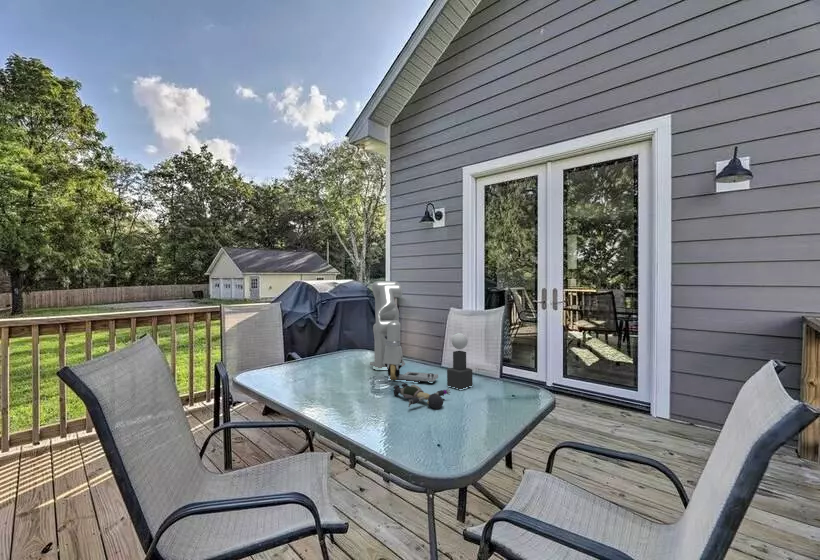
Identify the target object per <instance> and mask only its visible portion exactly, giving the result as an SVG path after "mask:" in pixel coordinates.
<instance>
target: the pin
mask: <svg viewBox="0 0 820 560" xmlns="http://www.w3.org/2000/svg"><path fill="white" fill-rule="evenodd" d="M396 369H397V368H396V365H393V364H390V376H389V377H390V379H391V380H396V379H397V377H396Z"/></svg>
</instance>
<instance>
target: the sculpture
mask: <svg viewBox="0 0 820 560" xmlns="http://www.w3.org/2000/svg"><path fill="white" fill-rule="evenodd" d="M451 344H452V347H454V349H456V350H455V351H453V352H452V367H451V368H450V367H449V368H447V369H446V386H447V385H448V386H451V387H455V388H458V389H463V388H466V387H469V386H472V385H474V384H473V383H474V382H473V381H474V380H473V369H472V368H468V367H467V352H466V351H462V349H465V348H466V347H467V345H468V338H467V336H466V335H465V334H464V333H462V332H458V333H455V334H453V336H452V337H451Z"/></svg>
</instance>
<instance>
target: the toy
mask: <svg viewBox="0 0 820 560" xmlns="http://www.w3.org/2000/svg"><path fill="white" fill-rule="evenodd" d="M392 387H393V388H392V389H393V390H392V391H393V395H398V396H399V395H401V396H403V398H404V399H408V408H410V407H411V405H415V404H418V403H420V402H422V401H427V402H426V403H427V405H429V406H430V408H432V409H436V410H439V409H441V407H443V404H444V401H445V398H444V395H451V394H450V393H451V391H450V390H451V389H450V387H447V389H441V390H438V391H436V392H434V393H432V394H430V393H428V392H424V390H422V388H421V387H420V386H418V385H417V384H411V385H409V383H404V382H402V384H401V387H400V385H398V384H395V385H394V386H392ZM442 397H443V398H442Z"/></svg>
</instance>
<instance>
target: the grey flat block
mask: <svg viewBox="0 0 820 560" xmlns="http://www.w3.org/2000/svg"><path fill="white" fill-rule="evenodd" d="M438 378H439V374H438V373H434V372H432V373H429V372H417V371H407V372H405V373H403V374H402V373H400V374H399V376H398V377H397V379H396V380H406V381H414V382H419V381H421V382H428V381H429V382H433V381H434V382H435V381H436V380H437V379H438Z"/></svg>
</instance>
